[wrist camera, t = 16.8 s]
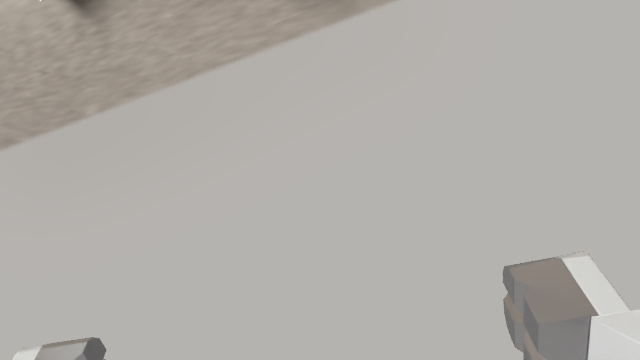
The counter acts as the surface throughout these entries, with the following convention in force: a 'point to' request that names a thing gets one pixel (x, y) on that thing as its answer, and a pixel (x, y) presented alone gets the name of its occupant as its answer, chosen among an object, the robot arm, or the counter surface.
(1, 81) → the counter surface
